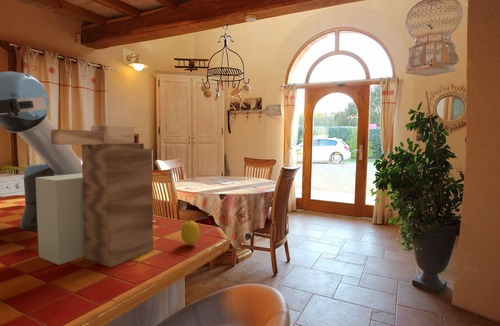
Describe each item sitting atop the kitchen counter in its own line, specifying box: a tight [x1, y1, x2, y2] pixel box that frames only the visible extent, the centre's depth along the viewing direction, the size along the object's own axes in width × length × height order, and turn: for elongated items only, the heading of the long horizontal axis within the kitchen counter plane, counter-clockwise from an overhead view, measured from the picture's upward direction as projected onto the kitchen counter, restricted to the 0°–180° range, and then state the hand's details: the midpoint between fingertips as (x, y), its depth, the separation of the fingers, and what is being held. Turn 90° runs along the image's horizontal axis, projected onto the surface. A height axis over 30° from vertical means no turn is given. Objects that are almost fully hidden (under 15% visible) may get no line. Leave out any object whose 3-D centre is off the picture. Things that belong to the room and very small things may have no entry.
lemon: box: [180, 219, 200, 246], centre depth 94 cm, size 6×6×8 cm
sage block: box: [36, 173, 85, 266], centre depth 86 cm, size 10×14×22 cm
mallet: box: [51, 125, 135, 149], centre depth 77 cm, size 7×19×6 cm, turn 150°
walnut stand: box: [81, 142, 154, 268], centre depth 85 cm, size 11×14×32 cm
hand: (24, 105), depth 69 cm, fingers open, 13 cm apart
